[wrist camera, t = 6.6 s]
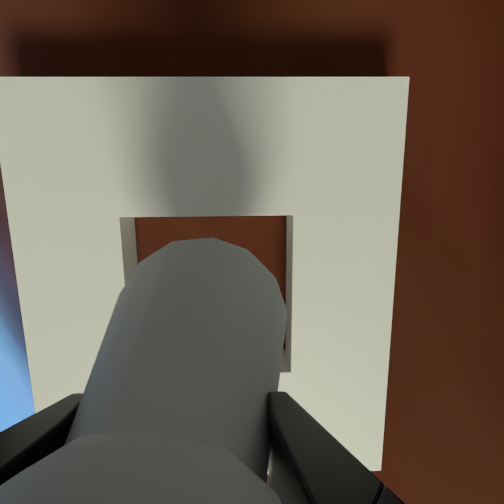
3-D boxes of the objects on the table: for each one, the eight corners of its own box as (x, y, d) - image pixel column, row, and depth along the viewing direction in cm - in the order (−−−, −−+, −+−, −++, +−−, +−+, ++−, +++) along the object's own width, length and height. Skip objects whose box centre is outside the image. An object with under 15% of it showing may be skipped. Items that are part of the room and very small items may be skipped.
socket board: (387, 88, 19) (409, 76, 17) (366, 439, 23) (381, 470, 21) (20, 88, 19) (-12, 76, 16) (65, 448, 23) (45, 481, 20)
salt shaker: (148, 369, 16) (-190, 1089, 4) (125, 236, 15) (-507, 593, 2) (286, 355, 16) (445, 1017, 4) (274, 221, 15) (449, 491, 2)
